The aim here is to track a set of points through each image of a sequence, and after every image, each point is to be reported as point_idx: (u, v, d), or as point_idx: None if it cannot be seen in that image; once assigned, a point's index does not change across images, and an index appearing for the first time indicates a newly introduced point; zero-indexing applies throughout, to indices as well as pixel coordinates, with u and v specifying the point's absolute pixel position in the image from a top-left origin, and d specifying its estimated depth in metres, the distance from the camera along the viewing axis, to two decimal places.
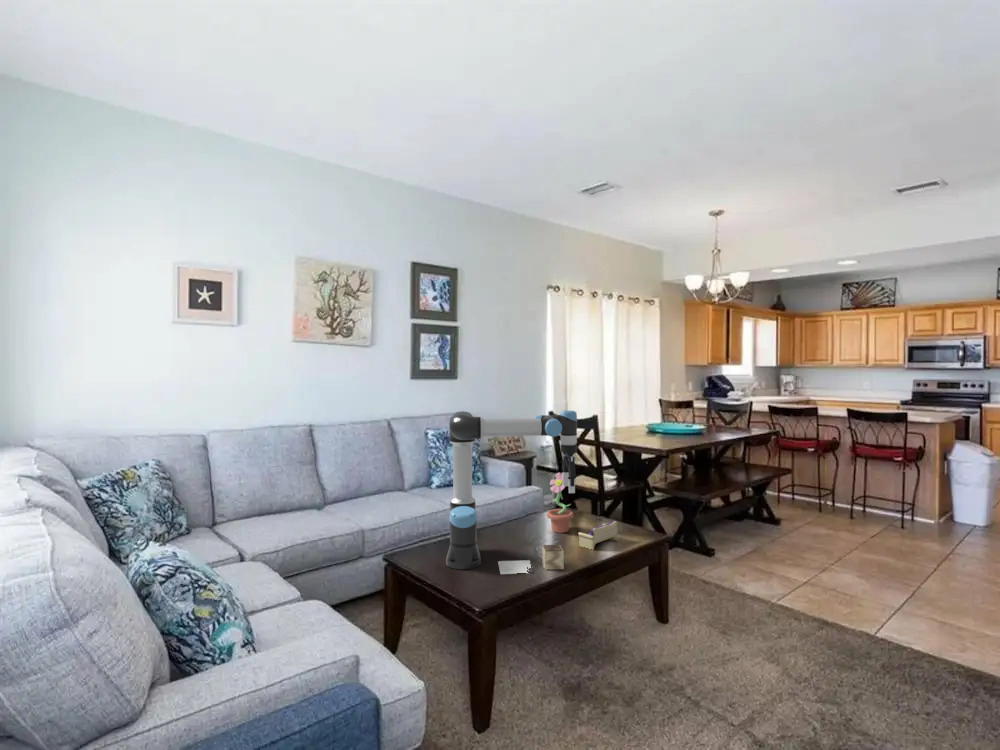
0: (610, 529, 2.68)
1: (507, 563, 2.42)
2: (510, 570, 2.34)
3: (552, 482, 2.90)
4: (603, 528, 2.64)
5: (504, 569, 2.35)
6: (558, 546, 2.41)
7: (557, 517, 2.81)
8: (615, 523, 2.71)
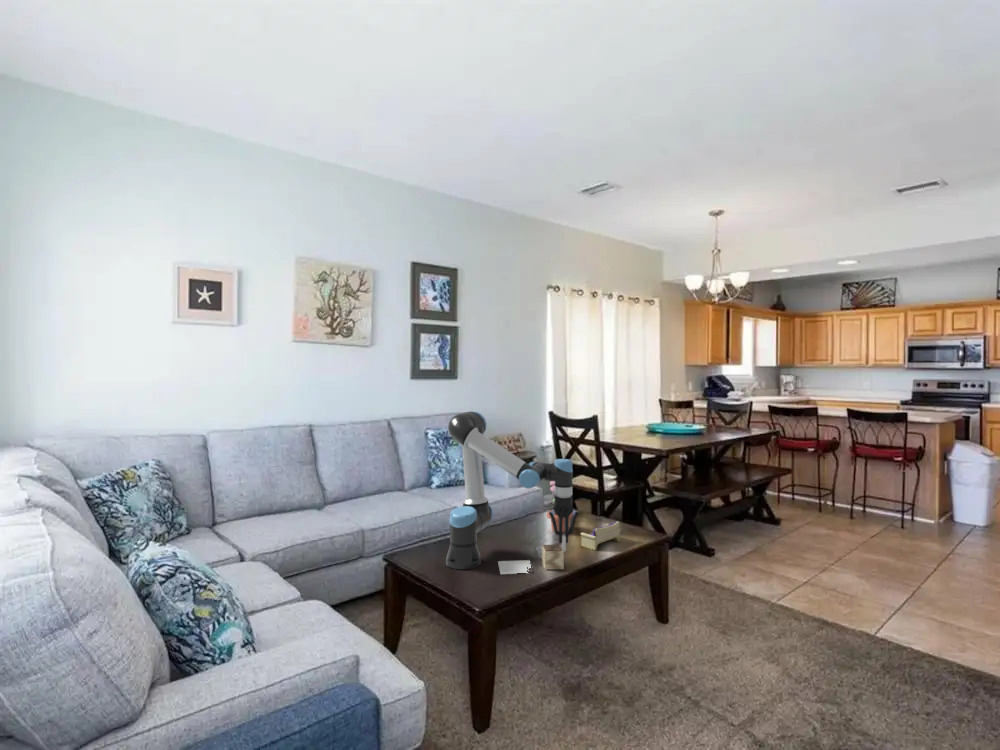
0: (612, 530, 2.67)
1: (507, 563, 2.42)
2: (510, 570, 2.34)
3: (552, 482, 2.90)
4: (605, 528, 2.64)
5: (504, 569, 2.35)
6: (558, 546, 2.41)
7: (557, 517, 2.81)
8: (618, 523, 2.70)
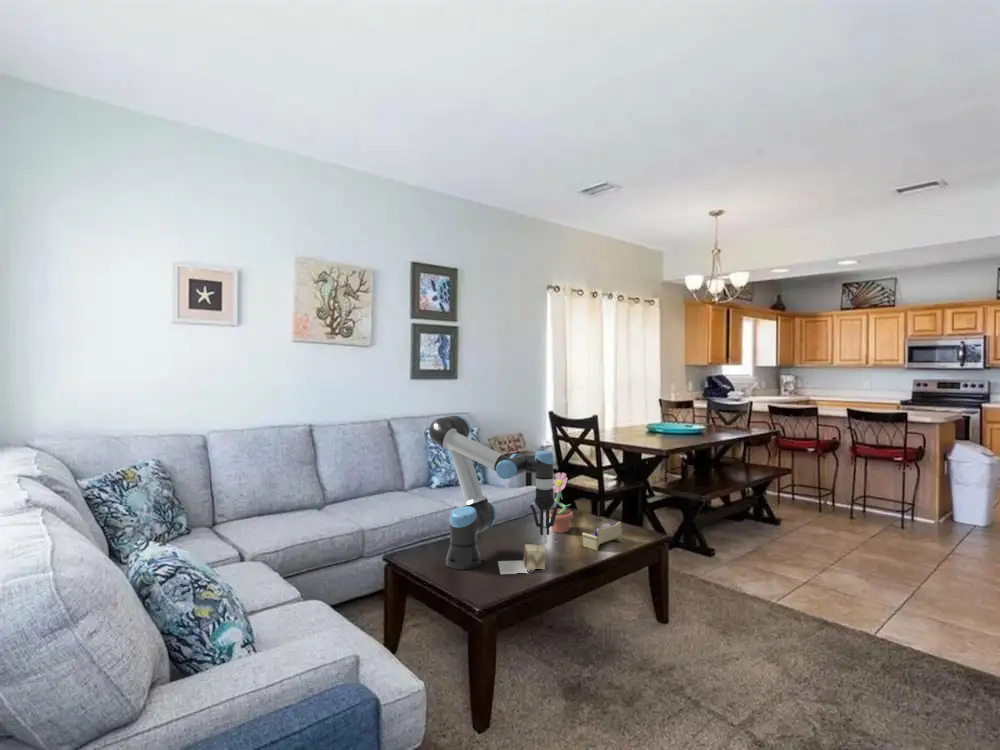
0: (614, 530, 2.67)
1: (507, 563, 2.42)
2: (510, 570, 2.34)
3: None
4: (607, 528, 2.63)
5: (504, 569, 2.35)
6: (524, 549, 2.40)
7: (557, 517, 2.81)
8: (619, 524, 2.70)
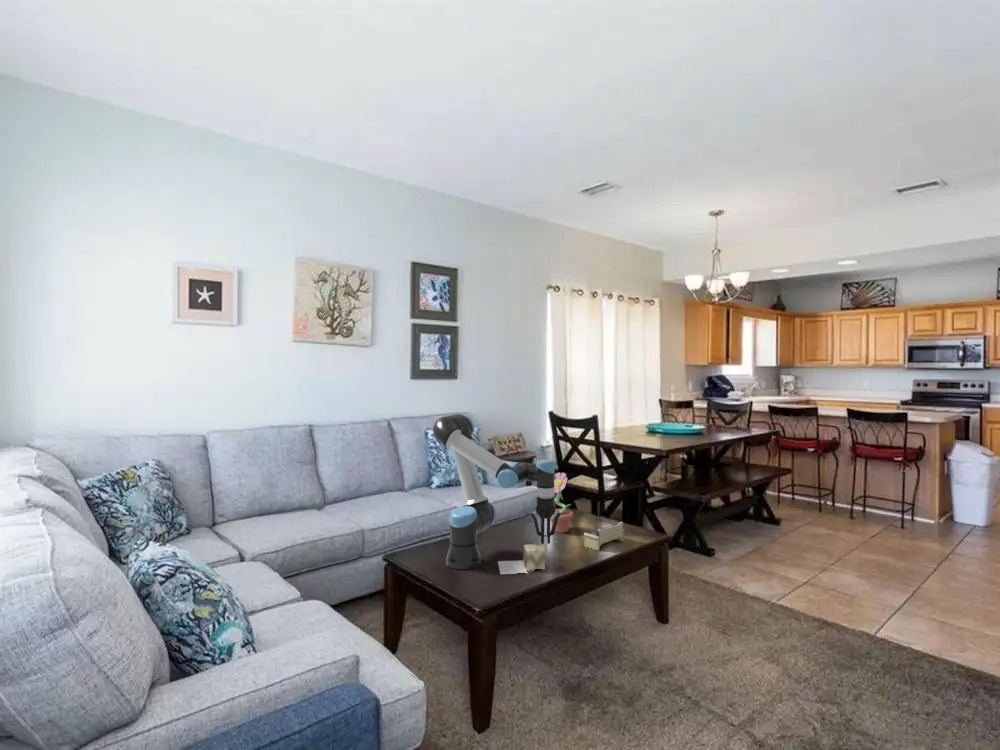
0: (615, 530, 2.67)
1: (507, 563, 2.42)
2: (510, 570, 2.34)
3: None
4: (609, 529, 2.63)
5: (504, 569, 2.35)
6: (524, 549, 2.40)
7: None
8: (621, 524, 2.70)
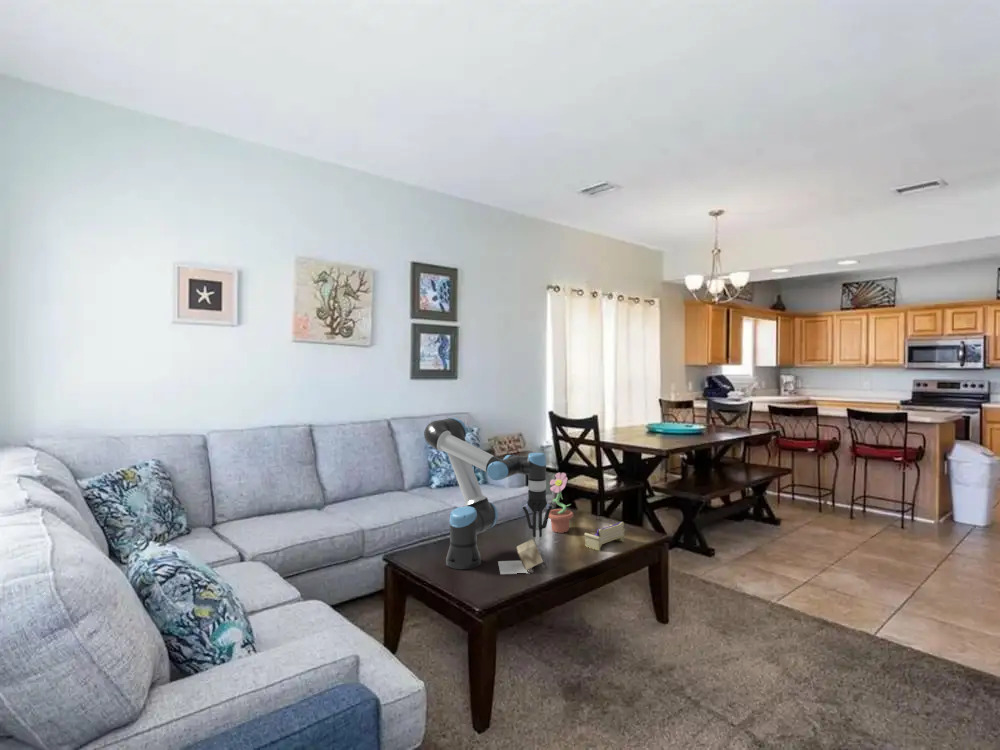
0: (616, 530, 2.67)
1: (507, 563, 2.42)
2: (510, 570, 2.34)
3: (552, 482, 2.90)
4: (609, 529, 2.63)
5: (504, 569, 2.35)
6: (517, 551, 2.39)
7: (557, 517, 2.81)
8: (622, 524, 2.69)
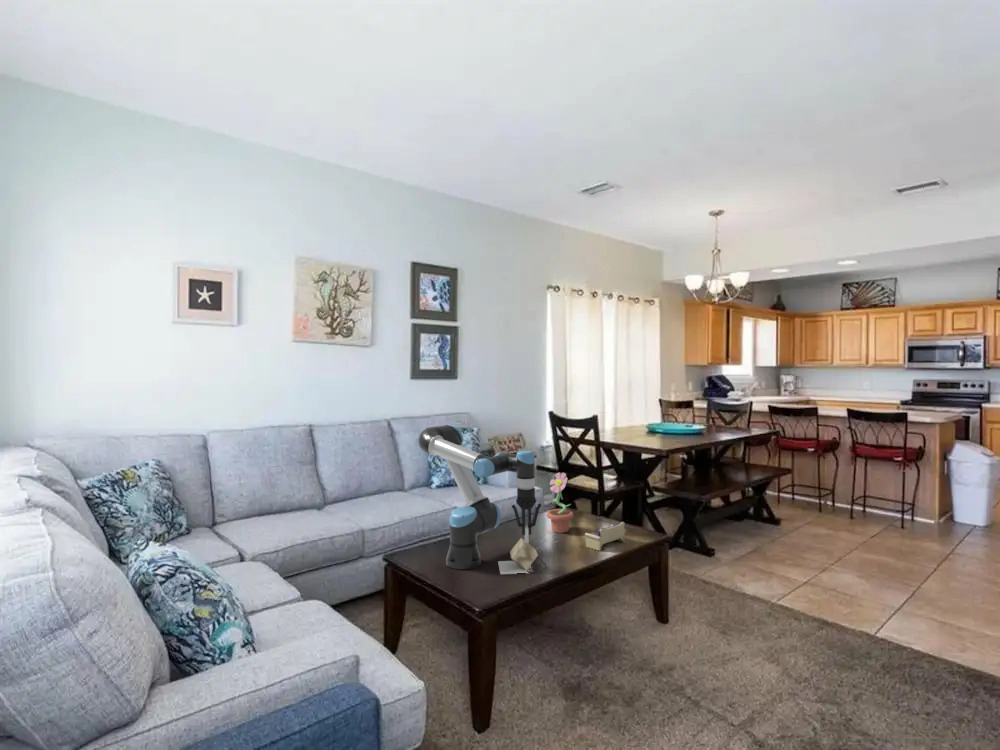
0: (617, 530, 2.66)
1: (507, 563, 2.42)
2: (510, 570, 2.34)
3: (552, 482, 2.90)
4: (610, 529, 2.63)
5: (504, 569, 2.35)
6: None
7: (557, 517, 2.81)
8: (622, 524, 2.69)
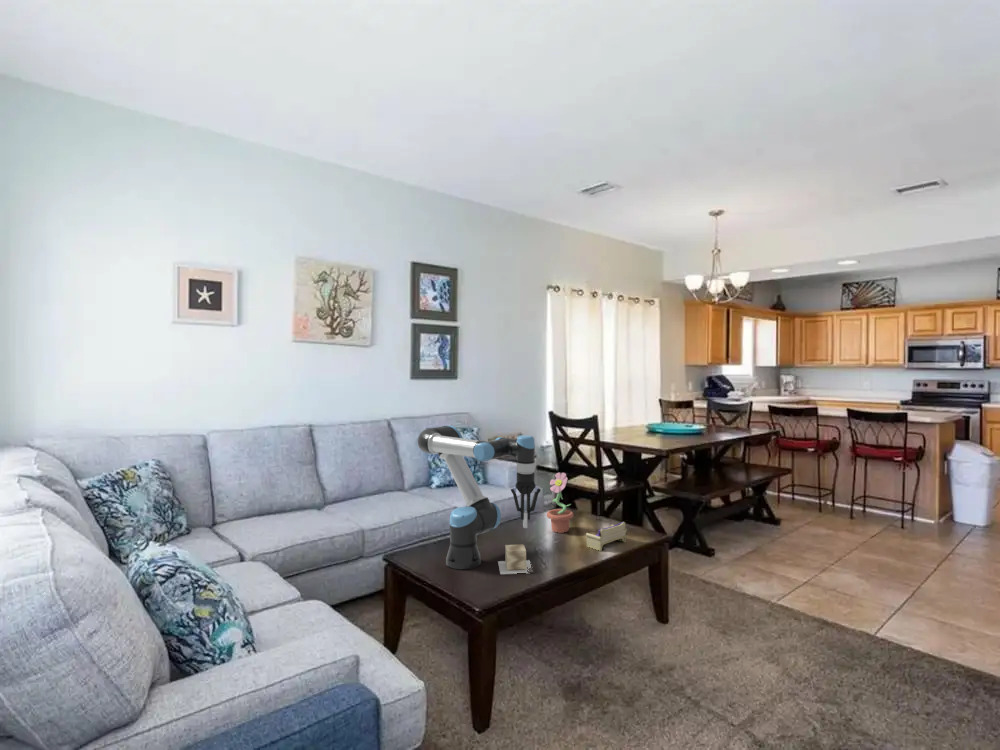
0: (618, 530, 2.66)
1: None
2: (510, 570, 2.34)
3: (552, 482, 2.90)
4: (611, 529, 2.63)
5: (504, 569, 2.35)
6: None
7: (557, 517, 2.81)
8: (623, 524, 2.69)
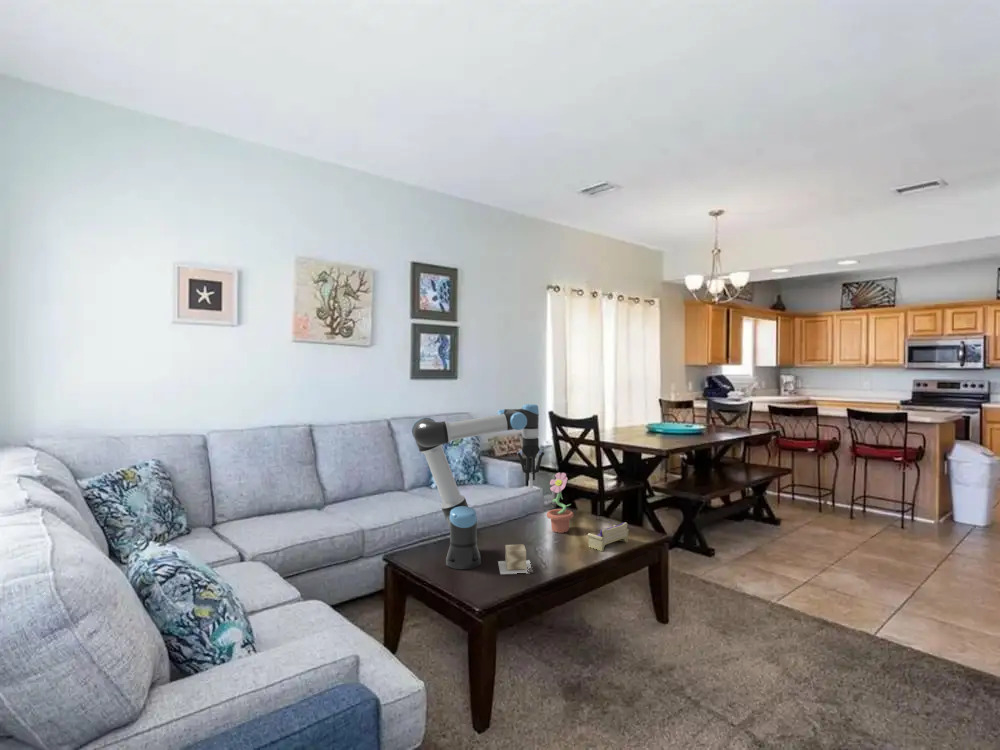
0: (620, 531, 2.66)
1: None
2: (510, 570, 2.34)
3: (552, 482, 2.90)
4: (613, 529, 2.62)
5: (504, 569, 2.35)
6: None
7: (557, 517, 2.81)
8: (625, 524, 2.69)
